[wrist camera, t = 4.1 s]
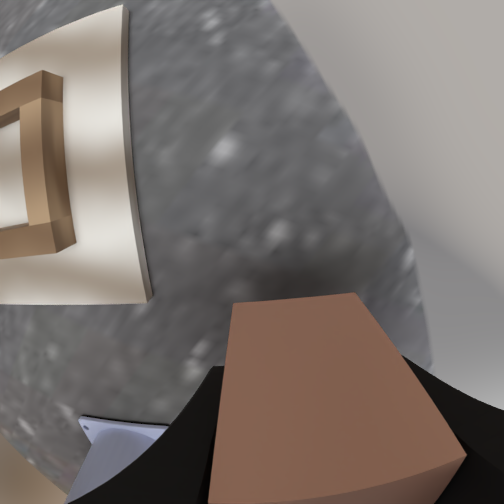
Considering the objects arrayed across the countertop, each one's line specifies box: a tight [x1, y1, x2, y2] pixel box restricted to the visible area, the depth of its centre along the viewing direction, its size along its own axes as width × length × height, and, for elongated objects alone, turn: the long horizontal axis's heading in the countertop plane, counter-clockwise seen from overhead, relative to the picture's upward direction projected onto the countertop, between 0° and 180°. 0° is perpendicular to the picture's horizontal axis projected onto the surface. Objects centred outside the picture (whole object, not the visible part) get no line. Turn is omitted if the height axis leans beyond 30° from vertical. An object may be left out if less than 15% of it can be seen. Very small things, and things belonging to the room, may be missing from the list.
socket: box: [0, 5, 153, 305], centre depth 13 cm, size 16×16×3 cm
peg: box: [208, 292, 467, 504], centre depth 7 cm, size 4×4×7 cm
